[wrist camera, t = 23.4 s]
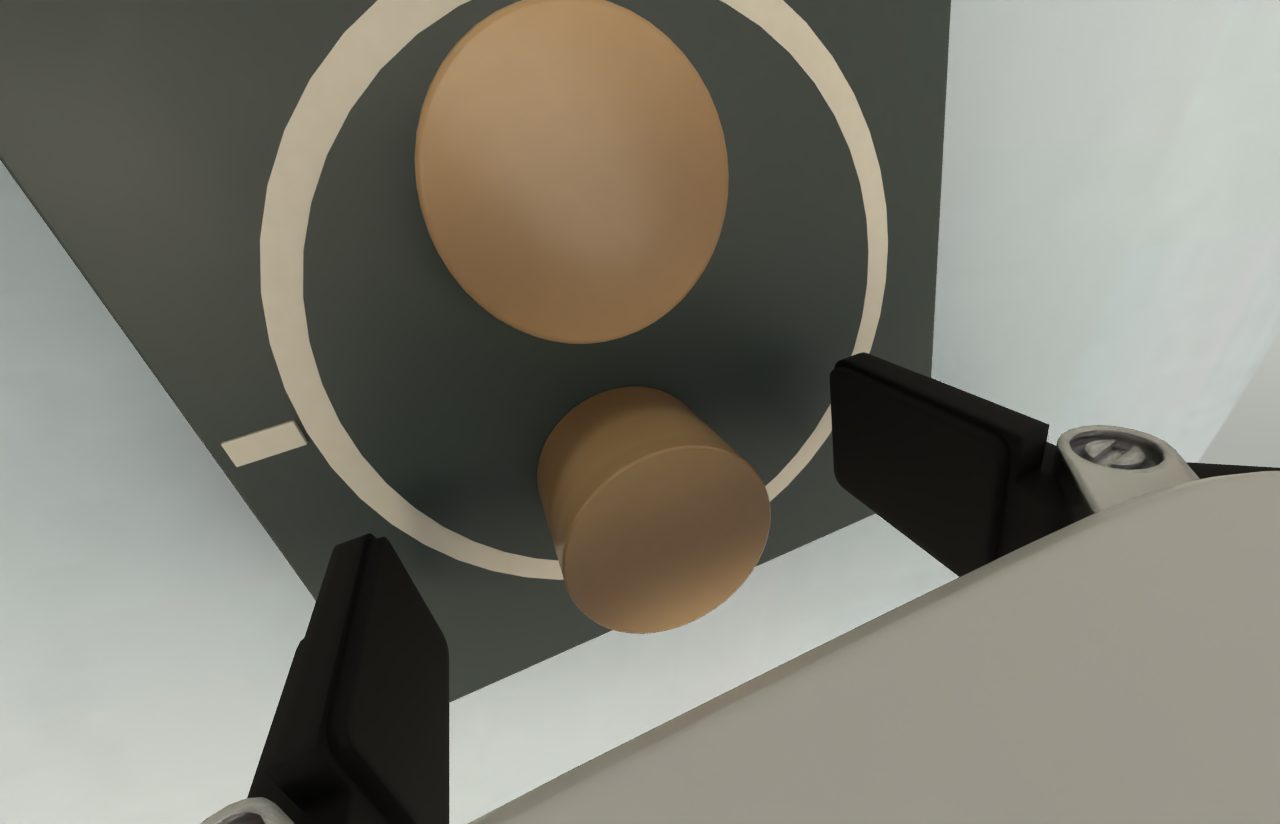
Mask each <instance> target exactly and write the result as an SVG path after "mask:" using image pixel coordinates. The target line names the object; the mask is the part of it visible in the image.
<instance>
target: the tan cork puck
mask: <svg viewBox="0 0 1280 824" xmlns="http://www.w3.org/2000/svg"><path fill="white" fill-rule="evenodd" d="M414 159H415V176H416V187H417V192H418V197H419V203H420V208H421V211H422V214H423V217H424V221H425V224H426V227H427V230H428V233H429V235H430V237H431V239H432V241H433V243H434V246H435V248H436V250H437V252H438V254H439V256H440V257H441V259H442V260H443V262H444V264H445V265H446V267H447V269H448V270H449V272H450V273H451V274H452V276H453V277H454V278H455V279H456V281H457V282H458V283H459V284H460V286H461V287H462V288H463V289H464V291H465V292H466V293H467V294H468V295H470V296H471V297H472V298H473V299H474V300H475V301H476V302H477V303H478V304H479V305H480V306H481V307H482V308H484V309H485V310H486V311H488V312H489V313H490V314H492V315H493V316H494V317H496V318H497V319H499V320H500V321H502V322H504V323H506V324H507V325H509V326H511V327H513V328H514V329H517V330H519V331H522V332H524V333H526V334H529V335H531V336H534V337H538V338H541V339H545V340H549V341H554V342H561V343H568V344H590V343H599V342H606V341H610V340H614V339H618V338H622V337H624V336H627V335H630V334H632V333H635V332H637V331H639V330H641V329H643V328H645V327H647V326H648V325H650V324H652V323H654V322H655V321H657V320H658V319H660V318H661V317H662V316H664V315H665V314H666V313H668V312H669V311H670V310H671V309H672V308H674V307H675V306H676V305H677V304H678V303H679V302H680V301H681V300H682V299H683V298H684V297H685V296H686V294H687V293H688V292H689V291H690V290H691V289H692V287H693V286H694V285H695V283H696V282H697V280H698V279H699V277H700V276H701V274H702V273H703V271H704V270H705V268H706V266H707V264H708V262H709V260H710V258H711V256H712V254H713V252H714V249H715V247H716V244H717V242H718V239H719V236H720V233H721V229H722V225H723V221H724V218H725V212H726V205H727V198H728V179H729V174H728V159H727V151H726V145H725V139H724V134H723V130H722V127H721V123H720V120H719V117H718V113H717V110H716V108H715V106H714V103H713V101H712V99H711V96H710V94H709V92H708V90H707V88H706V86H705V84H704V83H703V81H702V79H701V77H700V76H699V74H698V72H697V71H696V69H695V68H694V67H693V65H692V64H691V63H690V61H689V60H688V58H687V57H686V56H685V54H684V53H683V52H682V51H681V50H680V49H679V48H678V47H677V46H676V45H675V44H674V43H673V42H672V41H671V40H670V38H669V37H668V36H666V35H665V34H664V33H663V32H661V31H660V30H659V29H658V28H656V27H655V26H654V25H653V24H651V23H650V22H649V21H647V20H645V19H644V18H642V17H640V16H639V15H637V14H635V13H634V12H632V11H630V10H628V9H626V8H624V7H621V6H619V5H616V4H614V3H612V2H609V1H606V0H521V1H518V2H515V3H513V4H511V5H508V6H506V7H504V8H502V9H500V10H497V11H495V12H494V13H492V14H491V15H489V16H488V17H486V18H485V19H483V20H482V21H480V22H479V23H477V24H476V25H475V26H474V27H473V28H471V29H470V30H469V31H468V32H467V33H466V34H465V35H464V36H463V37H462V38H461V39H460V40H459V41H458V42H457V43H456V44H455V46H454V47H453V48H452V50H451V51H450V52H449V54H448V55H447V56H446V58H445V59H444V60H443V62H442V63H441V65H440V67H439V69H438V71H437V72H436V74H435V76H434V78H433V80H432V82H431V84H430V86H429V89H428V92H427V94H426V97H425V100H424V103H423V105H422V108H421V113H420V118H419V123H418V127H417V132H416V144H415V158H414Z"/></svg>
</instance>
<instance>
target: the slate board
mask: <svg viewBox="0 0 1280 824" xmlns="http://www.w3.org/2000/svg"><path fill="white" fill-rule="evenodd" d="M518 1H521V0H0V160H1V161H2V163H3V164H4V166H5V167H6V168H7V170H8V171H9V173H10V174H11V175H12V177H13V178H14V179H15V181H16V182H17V184H18V185H19V186H20V188H21V189H22V191H23V192H24V193H25V195H26V196H27V198H28V199H29V200H30V202H31V203H32V205H33V206H34V207H35V209H36V210H37V212H38V213H39V214H40V216H41V217H42V219H43V220H44V221H45V223H46V224H47V226H48V227H49V228H50V230H51V231H52V233H53V234H54V235H55V237H56V238H57V240H58V241H59V242H60V244H61V245H62V247H63V248H64V249H65V251H66V252H67V254H68V255H69V256H70V258H71V259H72V261H73V262H74V263H75V265H76V266H77V267H78V269H79V270H80V272H81V273H82V274H83V276H84V277H85V279H86V280H87V281H88V283H89V284H90V286H91V287H92V288H93V290H94V291H95V293H96V294H97V295H98V297H99V298H100V300H101V301H102V302H103V304H104V305H105V307H106V308H107V309H108V311H109V312H110V314H111V315H112V316H113V318H114V319H115V321H116V322H117V323H118V325H119V326H120V328H121V329H122V330H123V332H124V333H125V335H126V336H127V337H128V339H129V340H130V342H131V343H132V344H133V346H134V347H135V348H136V350H137V351H138V353H139V354H140V355H141V357H142V358H143V360H144V361H145V362H146V364H147V365H148V367H149V368H150V369H151V371H152V372H153V374H154V375H155V376H156V378H157V379H158V381H159V382H160V383H161V385H162V386H163V388H164V389H165V390H166V392H167V393H168V395H169V396H170V397H171V399H172V400H173V402H174V403H175V404H176V406H177V407H178V409H179V410H180V411H181V413H182V414H183V416H184V417H185V418H186V420H187V421H188V423H189V424H190V425H191V427H192V428H193V429H194V431H195V432H196V434H197V435H198V436H199V438H200V439H201V441H202V442H203V443H204V445H205V446H206V448H207V449H208V450H209V452H210V453H211V455H212V456H213V457H214V459H215V460H216V462H217V463H218V464H219V466H220V467H221V469H222V470H223V471H224V473H225V474H226V476H227V477H228V478H229V480H230V481H231V483H232V484H233V485H234V487H235V488H236V490H237V491H238V492H239V494H240V495H241V497H242V498H243V499H244V501H245V502H246V504H247V505H248V506H249V508H250V509H251V511H252V512H253V513H254V515H255V516H256V517H257V519H258V520H259V522H260V523H261V524H262V526H263V527H264V529H265V530H266V531H267V533H268V534H269V536H270V537H271V538H272V540H273V541H274V543H275V544H276V545H277V547H278V548H279V550H280V551H281V552H282V554H283V555H284V557H285V558H286V559H287V561H288V562H289V564H290V565H291V566H292V568H293V569H294V571H295V572H296V573H297V575H298V576H299V578H300V579H301V580H302V582H303V583H304V585H305V586H306V587H307V589H308V590H309V592H310V593H311V594H312V596H313V597H314V598H315V600H316V601H317V598H318V595H319V591H320V588H321V585H322V582H323V579H324V576H325V573H326V570H327V567H328V563H329V560H330V557H331V554H332V551H333V549H334V547H335V546H336V545H338V544H341V543H344V542H346V541H349V540H352V539H354V538H357V537H360V536H363V535H365V534H368V533H370V534H373V535H374V536H375V537H376V539H378V538H380V537H383V536H384V537H386V538H387V539H388V540H389V541H390V543H391V545H392V546H393V548H394V550H395V551H396V553H397V555H398V557H399V558H400V560H401V562H402V564H403V565H404V567H405V569H406V570H407V572H408V574H409V576H410V577H411V579H412V581H413V583H414V584H415V586H416V588H417V589H418V591H419V593H420V595H421V596H422V598H423V600H424V602H425V603H426V605H427V607H428V608H429V610H430V612H431V614H432V615H433V617H434V619H435V621H436V622H437V624H438V626H439V627H440V629H441V631H442V633H443V634H444V636H445V639H446V642H447V645H448V650H449V702H451V701H454V700H456V699H458V698H460V697H463V696H465V695H467V694H469V693H472V692H474V691H476V690H478V689H481V688H483V687H485V686H487V685H490V684H492V683H494V682H496V681H499V680H501V679H503V678H505V677H508V676H510V675H512V674H514V673H517V672H519V671H521V670H524V669H526V668H528V667H530V666H533V665H535V664H537V663H539V662H542V661H544V660H546V659H548V658H551V657H553V656H555V655H557V654H560V653H562V652H564V651H566V650H569V649H571V648H573V647H575V646H578V645H580V644H582V643H584V642H587V641H589V640H591V639H593V638H596V637H598V636H600V635H602V634H605V633H607V632H609V631H611V630H612V629H608V628H606V627H604V626H602V625H599V624H597V623H596V622H594V621H593V620H591V619H590V618H588V617H587V616H586V615H585V614H584V613H583V612H582V611H581V610H580V609H578V607H577V606H576V604H575V603H574V602H573V600H572V599H571V597H570V595H569V593H568V591H567V588H566V585H565V581H564V578H563V575H562V571H561V568H560V564H559V561H558V557H557V554H556V551H555V547H554V544H553V540H552V537H551V533H550V530H549V526H548V523H547V520H546V516H545V513H544V509H543V506H542V502H541V499H540V496H539V492H538V485H537V469H538V463H539V458H540V455H541V452H542V449H543V447H544V445H545V442H546V440H547V438H548V437H549V435H550V434H551V432H552V431H553V429H554V427H555V426H556V425H557V424H558V423H559V422H560V420H561V419H562V418H563V417H564V416H565V415H566V414H567V413H568V412H570V411H571V410H572V409H573V408H574V407H576V406H577V405H579V404H580V403H581V402H583V401H585V400H587V399H588V398H590V397H592V396H594V395H597V394H599V393H602V392H604V391H608V390H611V389H615V388H622V387H634V386H640V387H649V388H653V389H657V390H661V391H663V392H666V393H668V394H670V395H672V396H674V397H675V398H677V399H679V400H680V401H681V402H682V403H683V404H685V405H686V406H687V407H688V408H689V409H690V410H691V411H692V412H694V413H695V414H696V415H697V416H698V417H699V418H700V419H701V420H702V421H703V422H704V423H705V424H707V425H708V426H709V427H710V428H711V429H712V430H713V431H714V432H715V433H716V434H717V435H719V436H720V437H721V438H722V439H723V440H724V441H725V442H726V443H727V444H728V445H729V446H730V447H732V448H733V449H734V450H735V451H736V452H737V453H738V454H739V455H740V456H741V457H742V458H744V459H745V460H746V461H747V462H748V463H749V464H750V465H751V466H752V467H753V468H754V469H755V471H756V472H757V473H758V474H759V476H760V478H761V479H762V481H763V483H764V485H765V487H766V490H767V493H768V497H769V501H770V508H771V522H770V530H769V534H768V539H767V542H766V545H765V548H764V550H763V553H762V555H761V557H760V559H759V561H758V563H757V564H756V566H758V565H760V564H762V563H765V562H767V561H769V560H771V559H774V558H776V557H778V556H780V555H783V554H785V553H787V552H789V551H792V550H794V549H796V548H798V547H801V546H803V545H805V544H808V543H810V542H812V541H814V540H817V539H819V538H821V537H823V536H826V535H828V534H830V533H832V532H835V531H837V530H839V529H841V528H844V527H846V526H848V525H850V524H853V523H855V522H857V521H859V520H862V519H864V518H866V517H868V516H871V515H873V514H875V512H874V511H872V510H871V509H870V508H868V507H867V506H866V505H865V504H863V503H862V502H861V501H859V500H858V499H857V498H855V497H854V496H853V495H851V494H850V493H849V492H847V491H846V490H845V489H844V488H842V487H841V486H840V484H839V483H838V482H837V480H836V477H835V475H834V462H833V441H832V420H831V399H830V373H831V371H832V370H834V367H835V364H836V363H837V362H838V361H839V360H842V359H845V358H847V357H850V356H853V355H855V354H858V353H862V352H865V353H868V354H871V355H873V356H876V357H879V358H881V359H884V360H886V361H889V362H891V363H894V364H896V365H899V366H901V367H904V368H906V369H909V370H912V371H914V372H917V373H919V374H922V375H924V376H927V377H929V378H931V369H932V350H933V331H934V312H935V293H936V274H937V255H938V236H939V217H940V198H941V179H942V160H943V141H944V121H945V102H946V83H947V64H948V45H949V26H950V7H951V0H606V1H609V2H612V3H614V4H616V5H619V6H621V7H624V8H626V9H628V10H630V11H632V12H634V13H635V14H637V15H639V16H640V17H642V18H644V19H645V20H647V21H649V22H650V23H651V24H653V25H654V26H655V27H656V28H658V29H659V30H660V31H661V32H663V33H664V34H665V35H666V36H668V37H669V38H670V40H671V41H672V42H673V43H674V44H675V45H676V46H677V47H678V48H679V49H680V50H681V51H682V52H683V53H684V54H685V56H686V57H687V58H688V60H689V61H690V63H691V64H692V65H693V67H694V68H695V69H696V71H697V72H698V74H699V76H700V77H701V79H702V81H703V83H704V84H705V86H706V88H707V90H708V92H709V94H710V96H711V99H712V101H713V103H714V106H715V108H716V110H717V113H718V117H719V120H720V123H721V127H722V130H723V134H724V139H725V145H726V151H727V159H728V174H729V179H728V198H727V205H726V212H725V218H724V221H723V225H722V229H721V233H720V236H719V239H718V242H717V244H716V247H715V249H714V252H713V254H712V256H711V258H710V260H709V262H708V264H707V266H706V268H705V270H704V271H703V273H702V274H701V276H700V277H699V279H698V280H697V282H696V283H695V285H694V286H693V287H692V289H691V290H690V291H689V292H688V293H687V294H686V296H685V297H684V298H683V299H682V300H681V301H680V302H679V303H678V304H677V305H676V306H675V307H674V308H672V309H671V310H670V311H669V312H668V313H666V314H665V315H664V316H662V317H661V318H660V319H658V320H657V321H655V322H654V323H652V324H650V325H648V326H647V327H645V328H643V329H641V330H639V331H637V332H635V333H632V334H630V335H627V336H624V337H622V338H618V339H614V340H610V341H606V342H599V343H590V344H568V343H561V342H554V341H549V340H545V339H541V338H538V337H534V336H531V335H529V334H526V333H524V332H522V331H519V330H517V329H514V328H513V327H511V326H509V325H507V324H506V323H504V322H502V321H500V320H499V319H497V318H496V317H494V316H493V315H492V314H490V313H489V312H488V311H486V310H485V309H484V308H482V307H481V306H480V305H479V304H478V303H477V302H476V301H475V300H474V299H473V298H472V297H471V296H470V295H468V294H467V293H466V292H465V291H464V289H463V288H462V287H461V286H460V284H459V283H458V282H457V281H456V279H455V278H454V277H453V276H452V274H451V273H450V272H449V270H448V269H447V267H446V265H445V264H444V262H443V260H442V259H441V257H440V256H439V254H438V252H437V250H436V248H435V246H434V243H433V241H432V239H431V237H430V235H429V233H428V230H427V227H426V224H425V221H424V217H423V214H422V211H421V208H420V203H419V197H418V192H417V187H416V176H415V159H414V158H415V144H416V132H417V127H418V123H419V118H420V113H421V108H422V105H423V103H424V100H425V97H426V94H427V92H428V89H429V86H430V84H431V82H432V80H433V78H434V76H435V74H436V72H437V71H438V69H439V67H440V65H441V63H442V62H443V60H444V59H445V58H446V56H447V55H448V54H449V52H450V51H451V50H452V48H453V47H454V46H455V44H456V43H457V42H458V41H459V40H460V39H461V38H462V37H463V36H464V35H465V34H466V33H467V32H468V31H469V30H470V29H471V28H473V27H474V26H475V25H476V24H477V23H479V22H480V21H482V20H483V19H485V18H486V17H488V16H489V15H491V14H492V13H494V12H495V11H497V10H500V9H502V8H504V7H506V6H508V5H511V4H513V3H515V2H518ZM756 566H755V567H756Z"/></svg>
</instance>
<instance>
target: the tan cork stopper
mask: <svg viewBox="0 0 1280 824" xmlns="http://www.w3.org/2000/svg"><path fill="white" fill-rule="evenodd" d="M537 485H538V492H539V496H540V499H541V502H542V506H543V509H544V513H545V516H546V520H547V523H548V526H549V530H550V533H551V537H552V540H553V544H554V547H555V551H556V554H557V557H558V561H559V564H560V568H561V571H562V575H563V578H564V581H565V585H566V588H567V591H568V593H569V595H570V597H571V599H572V600H573V602H574V603H575V604H576V606H577V607H578V609H580V610H581V611H582V612H583V613H584V614H585V615H586V616H587V617H588V618H590V619H591V620H593V621H594V622H596V623H597V624H599V625H602V626H604V627H606V628H608V629H612V630H615V631H619V632H625V633H637V634H644V633H656V632H661V631H666V630H670V629H673V628H677V627H680V626H683V625H685V624H688V623H690V622H692V621H694V620H696V619H698V618H700V617H702V616H704V615H706V614H707V613H709V612H710V611H712V610H714V609H715V608H716V607H718V606H719V605H720V604H722V603H723V602H724V601H726V600H727V599H728V598H729V597H730V596H731V595H732V594H733V593H734V592H735V591H736V590H737V589H738V588H739V587H740V586H741V585H742V584H743V583H744V582H745V580H746V579H747V578H748V576H749V575H750V574H751V572H752V571H753V569H754V567H755V566H756V564H757V563H758V561H759V559H760V557H761V555H762V553H763V550H764V548H765V545H766V542H767V539H768V534H769V530H770V522H771V508H770V501H769V497H768V493H767V490H766V487H765V485H764V483H763V481H762V479H761V478H760V476H759V474H758V473H757V472H756V471H755V469H754V468H753V467H752V466H751V465H750V464H749V463H748V462H747V461H746V460H745V459H744V458H742V457H741V456H740V455H739V454H738V453H737V452H736V451H735V450H734V449H733V448H732V447H730V446H729V445H728V444H727V443H726V442H725V441H724V440H723V439H722V438H721V437H720V436H719V435H717V434H716V433H715V432H714V431H713V430H712V429H711V428H710V427H709V426H708V425H707V424H705V423H704V422H703V421H702V420H701V419H700V418H699V417H698V416H697V415H696V414H695V413H694V412H692V411H691V410H690V409H689V408H688V407H687V406H686V405H685V404H683V403H682V402H681V401H680V400H679V399H677V398H675V397H674V396H672V395H670V394H668V393H666V392H663V391H661V390H657V389H653V388H649V387H640V386H634V387H622V388H615V389H611V390H608V391H604V392H602V393H599V394H597V395H594V396H592V397H590V398H588V399H587V400H585V401H583V402H581V403H580V404H579V405H577V406H576V407H574V408H573V409H572V410H571V411H570V412H568V413H567V414H566V415H565V416H564V417H563V418H562V419H561V420H560V422H559V423H558V424H557V425H556V426H555V427H554V429H553V431H552V432H551V434H550V435H549V437H548V438H547V440H546V442H545V445H544V447H543V449H542V452H541V455H540V458H539V463H538V469H537Z"/></svg>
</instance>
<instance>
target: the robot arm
mask: <svg viewBox="0 0 1280 824" xmlns="http://www.w3.org/2000/svg"><path fill="white" fill-rule="evenodd" d="M830 399H831V420H832V441H833V462H834V475H835V477H836V480H837V482H838V483H839V484H840V486H841V487H842V488H844V489H845V490H846V491H847V492H849V493H850V494H851V495H853V496H854V497H855V498H857V499H858V500H859V501H861V502H862V503H863V504H865V505H866V506H867V507H868V508H870V509H871V510H872V511H874V512H875V513H876V514H878V515H879V516H880V517H882V518H883V519H884V520H886V521H887V522H888V523H889V524H891V525H892V526H893V527H895V528H896V529H897V530H899V531H900V532H901V533H903V534H904V535H905V536H907V537H908V538H909V539H911V540H912V541H913V542H914V543H916V544H917V545H918V546H920V547H921V548H922V549H924V550H925V551H926V552H928V553H929V554H930V555H932V556H933V557H934V558H935V559H937V560H938V561H939V562H941V563H942V564H943V565H945V566H946V567H947V568H949V569H950V570H951V571H953V572H954V573H955V574H956V575H958V576H959V578H957V579H955V580H953V581H951V582H949V583H947V584H945V585H943V586H941V587H939V588H937V589H935V590H933V591H930V592H928V593H926V594H924V595H922V596H920V597H918V598H916V599H914V600H912V601H910V602H908V603H906V604H904V605H902V606H900V607H898V608H896V609H894V610H891V611H889V612H887V613H885V614H883V615H881V616H879V617H877V618H875V619H873V620H871V621H869V622H867V623H865V624H863V625H861V626H859V627H857V628H855V629H853V630H851V631H849V632H847V633H845V634H843V635H841V636H839V637H837V638H835V639H833V640H831V641H829V642H827V643H825V644H823V645H821V646H818V647H816V648H814V649H812V650H810V651H808V652H806V653H804V654H802V655H800V656H798V657H796V658H794V659H792V660H790V661H788V662H786V663H784V664H782V665H780V666H778V667H776V668H774V669H772V670H770V671H768V672H766V673H764V674H762V675H760V676H758V677H756V678H754V679H752V680H750V681H748V682H746V683H744V684H742V685H740V686H738V687H736V688H734V689H732V690H730V691H728V692H726V693H724V694H722V695H720V696H718V697H716V698H714V699H712V700H710V701H708V702H706V703H704V704H702V705H700V706H698V707H696V708H694V709H692V710H690V711H688V712H686V713H684V714H682V715H680V716H678V717H676V718H674V719H672V720H670V721H668V722H666V723H664V724H662V725H660V726H658V727H656V728H654V729H652V730H650V731H648V732H646V733H644V734H642V735H640V736H638V737H636V738H634V739H632V740H630V741H628V742H626V743H624V744H622V745H620V746H618V747H616V748H614V749H612V750H610V751H608V752H606V753H604V754H602V755H600V756H598V757H596V758H594V759H592V760H590V761H588V762H586V763H584V764H582V765H580V766H578V767H576V768H574V769H572V770H570V771H568V772H566V773H564V774H562V775H560V776H558V777H557V778H555V779H553V780H551V781H549V782H547V783H545V784H543V785H541V786H539V787H537V788H535V789H534V790H532V791H530V792H528V793H526V794H524V795H522V796H520V797H518V798H516V799H514V800H512V801H511V802H509V803H507V804H505V805H503V806H501V807H499V808H497V809H495V810H493V811H491V812H489V813H488V814H486V815H484V816H482V817H480V818H478V819H476V820H474V821H472V822H470V823H468V824H1280V468H1272V467H1255V466H1238V465H1221V464H1204V463H1187V462H1185V461H1184V459H1183V458H1182V457H1181V456H1180V455H1179V454H1178V452H1177V451H1176V450H1175V449H1174V448H1172V447H1171V446H1170V445H1169V444H1168V443H1166V442H1165V441H1163V440H1161V439H1159V438H1157V437H1155V436H1153V435H1150V434H1147V433H1144V432H1140V431H1137V430H1134V429H1128V428H1123V427H1117V426H1103V425H1095V426H1082V427H1078V428H1074V429H1070V430H1068V431H1066V432H1065V433H1063V434H1061V436H1060V438H1059V439H1058V441H1057V446H1055V445H1053V444H1050V443H1048V442H1046V440H1047V435H1048V429H1049V425H1048V424H1046V423H1043V422H1041V421H1038V420H1036V419H1033V418H1031V417H1028V416H1026V415H1023V414H1021V413H1018V412H1015V411H1013V410H1010V409H1008V408H1005V407H1003V406H1000V405H998V404H995V403H993V402H990V401H988V400H985V399H983V398H980V397H977V396H975V395H972V394H970V393H967V392H965V391H962V390H960V389H957V388H955V387H952V386H950V385H947V384H944V383H942V382H939V381H937V380H934V379H932V378H929V377H927V376H924V375H922V374H919V373H917V372H914V371H912V370H909V369H906V368H904V367H901V366H899V365H896V364H894V363H891V362H889V361H886V360H884V359H881V358H879V357H876V356H873V355H871V354H868V353H865V352H862V353H858V354H855V355H853V356H850V357H847V358H845V359H842V360H839V361H838V362H837V363H836V364H835V367H834V370H832V371H831V373H830ZM201 824H449V650H448V645H447V642H446V639H445V636H444V634H443V633H442V631H441V629H440V627H439V626H438V624H437V622H436V621H435V619H434V617H433V615H432V614H431V612H430V610H429V608H428V607H427V605H426V603H425V602H424V600H423V598H422V596H421V595H420V593H419V591H418V589H417V588H416V586H415V584H414V583H413V581H412V579H411V577H410V576H409V574H408V572H407V570H406V569H405V567H404V565H403V564H402V562H401V560H400V558H399V557H398V555H397V553H396V551H395V550H394V548H393V546H392V545H391V543H390V541H389V540H388V539H387V538H386V537H384V536H383V537H380V538H378V539H376V537H375V536H374V535H373V534H370V533H368V534H365V535H363V536H360V537H357V538H354V539H352V540H349V541H346V542H344V543H341V544H338V545H336V546H335V547H334V549H333V551H332V554H331V557H330V560H329V563H328V567H327V570H326V573H325V576H324V579H323V582H322V585H321V588H320V591H319V595H318V598H317V601H316V604H315V607H314V610H313V613H312V616H311V619H310V622H309V626H308V629H307V632H306V635H305V638H304V639H303V640H301V641H300V643H299V645H298V647H297V649H296V652H295V655H294V658H293V661H292V665H291V668H290V671H289V674H288V677H287V680H286V683H285V686H284V689H283V692H282V695H281V698H280V701H279V704H278V707H277V710H276V713H275V716H274V719H273V722H272V725H271V728H270V731H269V734H268V737H267V740H266V743H265V746H264V749H263V752H262V755H261V758H260V761H259V764H258V767H257V770H256V773H255V776H254V779H253V782H252V785H251V788H250V791H249V794H248V797H247V798H246V799H244V800H241V801H238V802H236V803H233V804H230V805H228V806H226V807H225V808H223V809H221V810H220V811H218V812H217V813H215V814H213V815H212V816H210V817H209V818H207V819H206V820H204V821H203V822H202V823H201Z"/></svg>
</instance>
